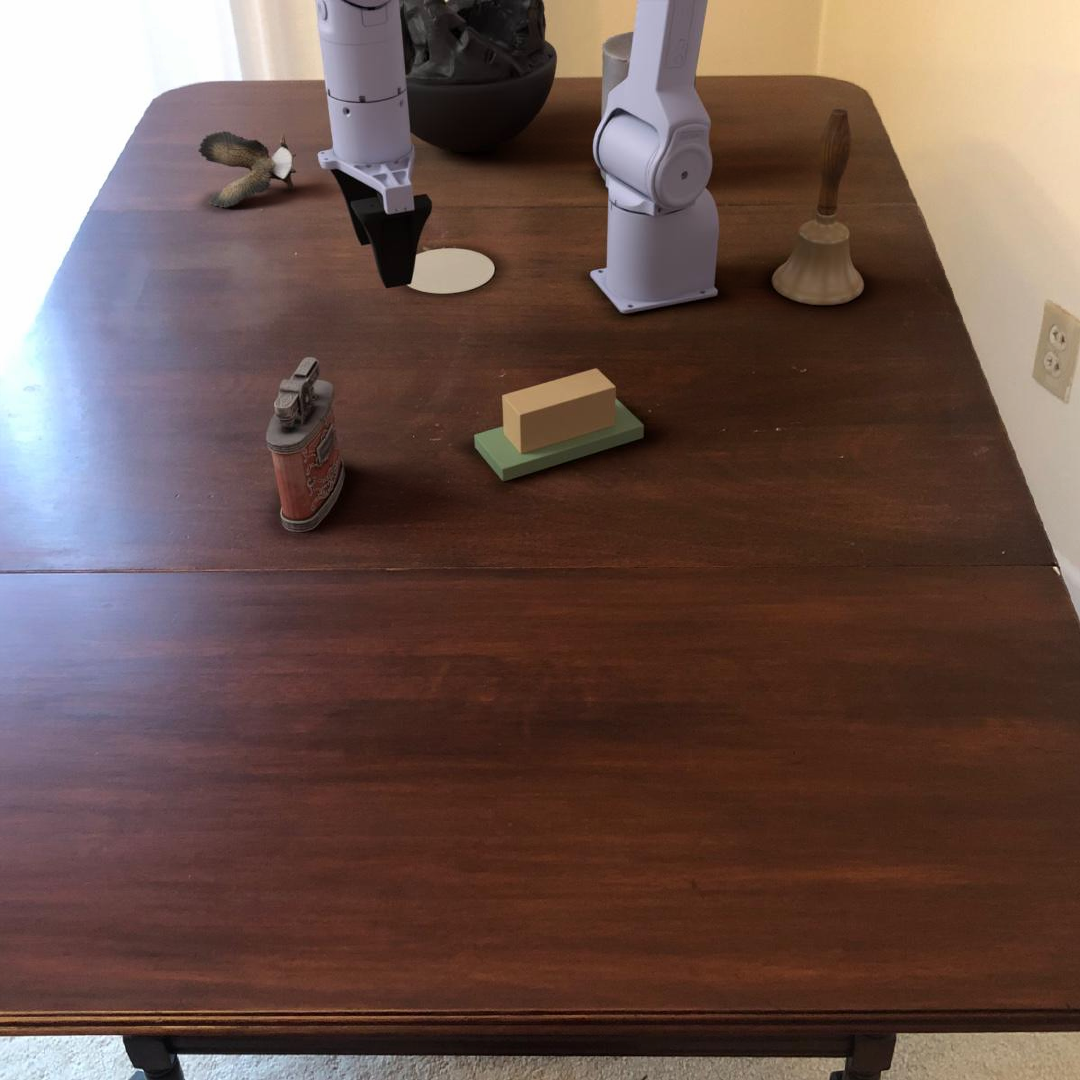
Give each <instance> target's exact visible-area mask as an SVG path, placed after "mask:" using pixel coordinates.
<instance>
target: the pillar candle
mask: <svg viewBox="0 0 1080 1080" xmlns="http://www.w3.org/2000/svg"><path fill="white" fill-rule="evenodd" d="M633 34H634V31H628V32H624V33H617V34H615V35H613V36H610V37H608V38H607V39H606V40H605V42H603V43H602V44H601V46H602V47H601V50H602V54H601V56H602V58H601V59H602V69H601V71H602V72H601V74H602V75H601V121H602V119H603V117H604V114H605V111H606V108H607V102H608V94H609V93H610V91H611V90H613V89H614V88H615V87H616V86H618V85H619V84H620V83H621V82H623V81H624V80H625V79H626V78H627V77H628V72H629V64H630V57H631V49H632V42H633ZM696 82H697V75H696V76H695V82H694V87H695V88H696V84H697V83H696ZM601 121H600V122H601ZM600 175H601V178H602V179H603V181H604V182H605V183H606V173H605V172H603V171H602V170H601V169H600Z"/></svg>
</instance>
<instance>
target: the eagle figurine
mask: <svg viewBox="0 0 1080 1080" xmlns="http://www.w3.org/2000/svg"><path fill="white" fill-rule="evenodd" d="M285 137H286V136H285V135H284V133H283V134H281V136H280V141H279V146H280V147H279V148H278V149H277V150H276V152H274V154H273V155H272V156H270V155H269V150H268V148H267V146H265V145H264V144H263V143H262V142H260V141H259V140H257V139H247V138H244V137H243V136H239V135H236V134H232V133H231V132H229V131H225V130H222V131H218V132H214V133H211V134H207V135H205V138H203V139H202V142H200V143H199V146H200V147H199V148H198V153H200V155H201V156H202V157H203V158H204V157H205V161H208V162H211V163H215V164H219V165H223V166H227V167H232V168H245V169H248V170H249V172H248V173H247V174H245V175H243V176H241V177H239V178H237V179H235V180H233V181H231V182H229V183H228V184H227V185H226V186H225V187H224V188H223V189H221V190H218V191H216V192H214V194H213V196H211V199H210V200H209V201H208V202H209V205H210V206H213V207H219V208H230V207H231V206H235V205H236V204H239V203H240V202H241V201H243V200H245V199H247V197H250V196H251V195H252V196H253V195H254V194H261V193H262V192H264V191H266V190H267V189H268V188H269V186H270V185H271V184H270V182H271V179H272V180H278V181H282V182H283V183H285V184H286V186H287V188H289V189H290V190H293V189H294V183H293V181H292V174H295V173H297V170H296V169H294V168H293V161H294V159H293V158H294V157H296V156H297V153H295V152H294V153H291V152H290V150H289V149H288V145H287V144H286V138H285Z"/></svg>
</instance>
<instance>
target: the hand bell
mask: <svg viewBox="0 0 1080 1080" xmlns="http://www.w3.org/2000/svg"><path fill="white" fill-rule="evenodd" d="M848 113H849V112H848V110H847V109H845V108H835V109H832V111H831V114H830V116H829V118H828V121H827V123H826V125H825V127H824V129H823V132H822V134H821V138H820V142H819V149H818V150H819V151H818V167H819V174H820V183H821V184H820V191H819V196H818V201H817V202H818V204H817V207H816V211H817V212H816V216H815V219H812V220H810V221H806V222H805V223H803V224H802V225H801V226H800V227H799V229H798V234H797V236H796V237H797V238H796V241H795V244H794V247H793V250H792V252H791V254H790V256H789V258H788V259H787V261H785V262H784V263H782V264H781V265H779V267H778V268H777V269H776V270H775V271H774V273H773V275H772V276H771V284H772V287H773V288H774V290H775V291H776V292H777V293H778V294H780V295H781V296H783V297H785V298H787V299H789V300H790V301H794V302H798V303H801V304H805V305H810V306H835V305H840V304H841V305H842V304H845V303H849V302H850V301H853V300H854V299H856V298H857V297H859V296H860V295H861V294H862V293H863V291H864V288H865V283H864V280H863V277H862V275H861V274H860V272H859V271H858V270H857V269H856V268H855V267H854V264H853V263H852V258H851V251H850V249H851V248H850V235H851V233H850V231H849V228H848V227H847V226H846V225H845V224H843V223H842V222H838V221H837V211H838V202H839V201H838V200H839V199H838V198H839V188H840V183H841V181H842V177H843V175H844V173H845V171H846V169H847V166H848V163H849V158H850V154H851V149H852V134H851V129H850V128H851V127H850V123H849V115H848Z"/></svg>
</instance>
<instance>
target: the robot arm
mask: <svg viewBox="0 0 1080 1080" xmlns="http://www.w3.org/2000/svg"><path fill="white" fill-rule="evenodd" d="M708 2H709V0H637V4H636V11H635V19H634V27H633V32H634V34H633V42H632V49H631V57H630V64H629V72H628V77H627V78H626V79H625V80H624V81H623V82H621V83H620V84H619V85H618V86H616V87H615V88H614V89H613V90H611V91H610V93H609V94H608V102H607V108H606V111H605V114H604V117H603V119H602V118H601V120H602V121H600V123H599V125H598V126H597V129H596V131H595V133H594V138H593V143H592V153H593V158H594V161H595V164H596V165H597V167H598V168H599V169H600V171H601V170H602V171H603V172H605V173H606V182H605V187H606V188H607V189H608V198H607V200H608V201H607V203H608V204H607V235H606V236H607V238H606V239H607V240H606V241H607V242H606V243H607V244H606V267H604V268H599V269H594V270H591V271H590V274H589V277H590V278H591V279H592V280H593V282H595V284H596V285H597V286H598V287H599V288H600V290H601V291H602V292H603V293H604V294H605V295H606V297H607V298H608V299H609V300H610V301H611V303H612V304H613V305H614V306H615V308H616V309H617V310H618V311H619V312H620V313H621V314H624V315H627V314H631V313H632V314H633V313H637V312H642V311H646V310H652V309H657V308H662V307H663V308H664V307H667V306H672V305H673V306H674V305H677V304H683V303H689V302H693V301H698V300H704V299H709V298H714V297H716V296H718V293H719V292H718V289H717V287H715V283H716V282H715V281H716V271H717V259H718V258H717V256H718V246H719V237H720V236H719V235H720V220H719V219H720V218H719V213H718V208H717V204H716V201H715V199H714V197H713V195H712V194H711V192H710V191H709V190H708V189H707V188H706V187H707V185H708V183H709V180H710V178H711V174H712V170H713V155H712V151H711V147H710V132H711V131H710V130H711V125H712V121H711V118H710V115H709V113H708V111H707V110H706V108H705V105H704V104H703V102H702V99H701V98H700V96H699V94H698V92H697V90H696V86H695V87H694V82H695V76H696V77H697V71H698V64H699V57H700V51H701V46H702V39H703V32H704V27H705V21H706V14H707V10H708V9H707V8H708V4H709V3H708ZM315 9H316V16H317V17H316V18H317V31H318V38H319V45H320V46H319V47H320V55H321V61H322V62H321V63H322V69H323V70H322V71H323V78H324V86H325V92H326V99H327V107H328V115H329V125H330V132H331V139H332V140H331V141H332V147H331V148H330V149H326V150H321V151H319V152H318V153H317V157H318V163H319V165H320V167H321V168H322V169H323V170H325V171H326V170H327V171H329V170H330V172H331V174H332V175H333V176H334V178H335V180H336V182H337V185H338V186H339V189H340V191H341V193H342V196H343V199H344V201H345V205H346V208H347V211H348V215H349V217H350V221H351V223H352V228H353V230H354V233H355V236H356V238H357V240H358V242H359V244H360V246H361V247H362V246H368V245H371V248H372V253H373V256H374V261H375V264H376V268H377V271H378V274H379V277H380V280H381V283H382V284H383V286H384V288H385V289H392V288H398V287H403V286H407V285H409V284H411V282H412V278H413V273H414V267H415V260H416V255H417V254H418V248H419V243H420V239H421V236H422V232H423V229H424V228H425V225H426V223H427V221H428V219H429V217H430V215H431V214H432V210H433V201H432V200H431V198H430V197H429V195H428V194H427V193H423V194H416V195H414V189H413V187H414V186H413V183H412V182H411V179H412V175H413V169H414V164H415V158H416V150H415V145H414V143H413V142H412V137H411V132H410V123H409V111H408V99H407V87H406V76H405V64H404V52H403V40H402V28H401V19H400V8H399V0H315Z"/></svg>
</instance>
